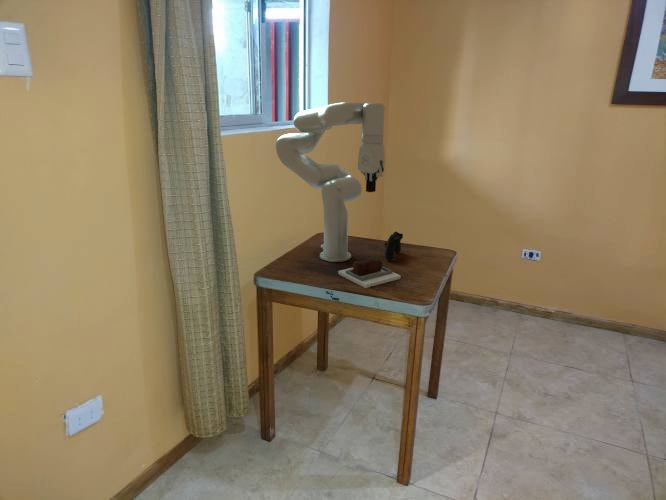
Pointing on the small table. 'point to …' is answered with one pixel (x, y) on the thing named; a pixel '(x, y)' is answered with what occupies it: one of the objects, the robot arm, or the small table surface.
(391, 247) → the gaming controller
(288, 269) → the small table surface
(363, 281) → the baseplate
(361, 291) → the small table surface
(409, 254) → the small table surface
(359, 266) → the brick
